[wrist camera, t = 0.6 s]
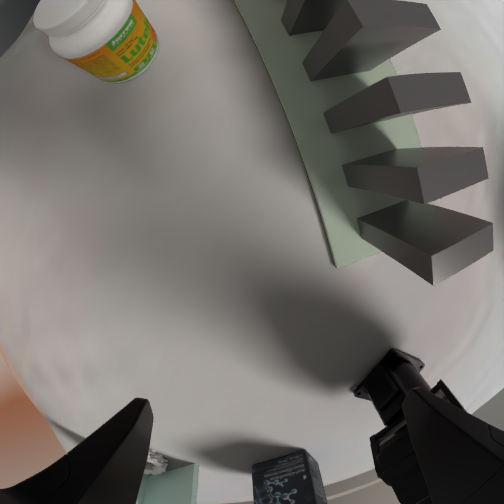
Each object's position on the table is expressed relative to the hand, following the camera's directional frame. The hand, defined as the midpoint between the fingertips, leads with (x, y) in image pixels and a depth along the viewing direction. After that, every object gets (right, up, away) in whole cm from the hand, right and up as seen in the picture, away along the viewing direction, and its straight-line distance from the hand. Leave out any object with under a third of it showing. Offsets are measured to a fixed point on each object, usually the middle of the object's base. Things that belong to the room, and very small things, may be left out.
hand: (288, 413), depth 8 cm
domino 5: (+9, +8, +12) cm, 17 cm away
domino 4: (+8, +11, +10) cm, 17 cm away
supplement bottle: (-11, +20, +8) cm, 24 cm away
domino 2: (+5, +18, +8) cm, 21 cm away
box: (+3, -24, +22) cm, 32 cm away
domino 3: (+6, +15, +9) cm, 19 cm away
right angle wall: (-17, -23, +21) cm, 35 cm away
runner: (+5, +19, +8) cm, 21 cm away
